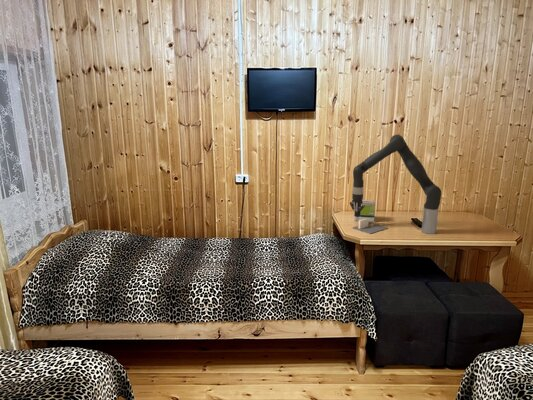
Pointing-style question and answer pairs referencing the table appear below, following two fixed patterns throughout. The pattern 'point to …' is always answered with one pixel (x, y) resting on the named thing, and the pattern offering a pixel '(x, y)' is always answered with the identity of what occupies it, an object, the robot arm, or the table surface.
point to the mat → (371, 229)
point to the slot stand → (372, 223)
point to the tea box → (366, 211)
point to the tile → (363, 223)
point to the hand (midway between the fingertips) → (356, 216)
